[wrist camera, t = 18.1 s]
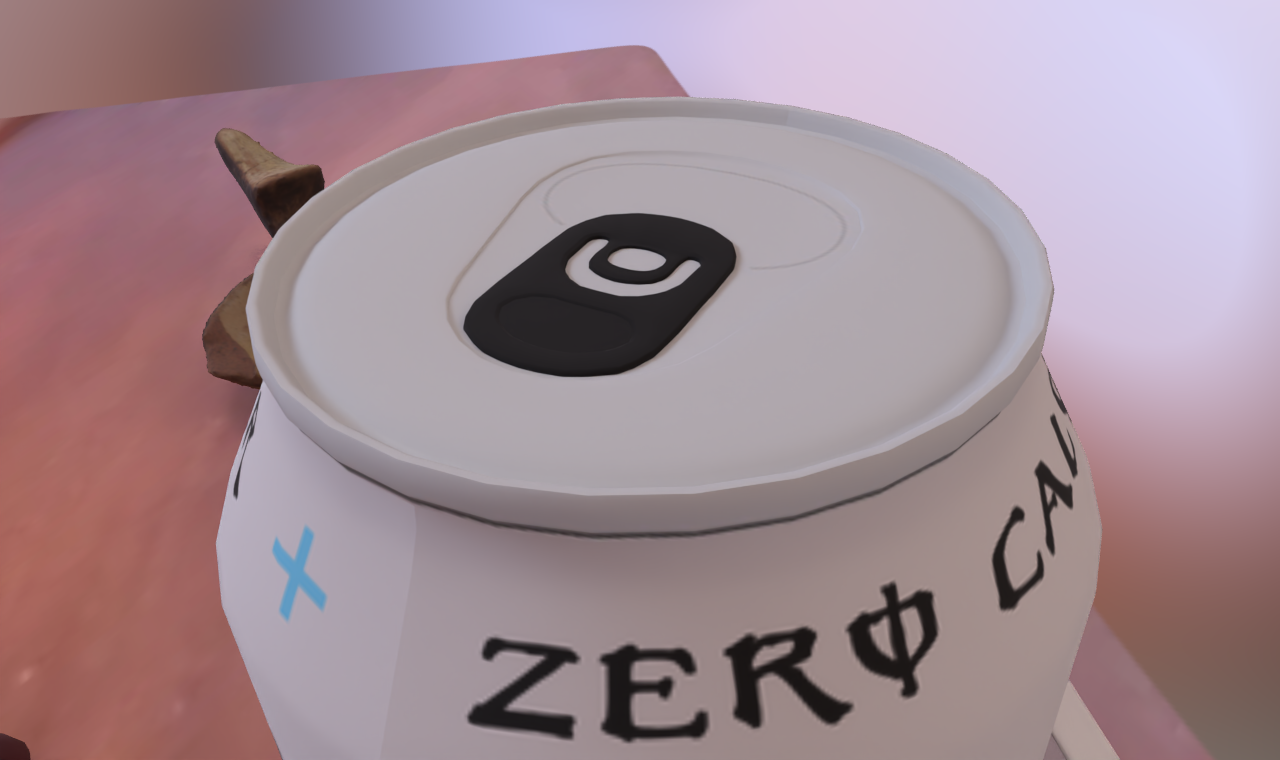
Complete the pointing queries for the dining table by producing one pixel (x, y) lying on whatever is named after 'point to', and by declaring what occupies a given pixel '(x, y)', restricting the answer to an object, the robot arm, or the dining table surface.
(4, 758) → the maroon pointed figurine
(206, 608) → the dining table surface
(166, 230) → the dining table surface
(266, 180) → the olive ceramic shallow bowl
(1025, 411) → the energy drink can
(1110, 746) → the robot arm
